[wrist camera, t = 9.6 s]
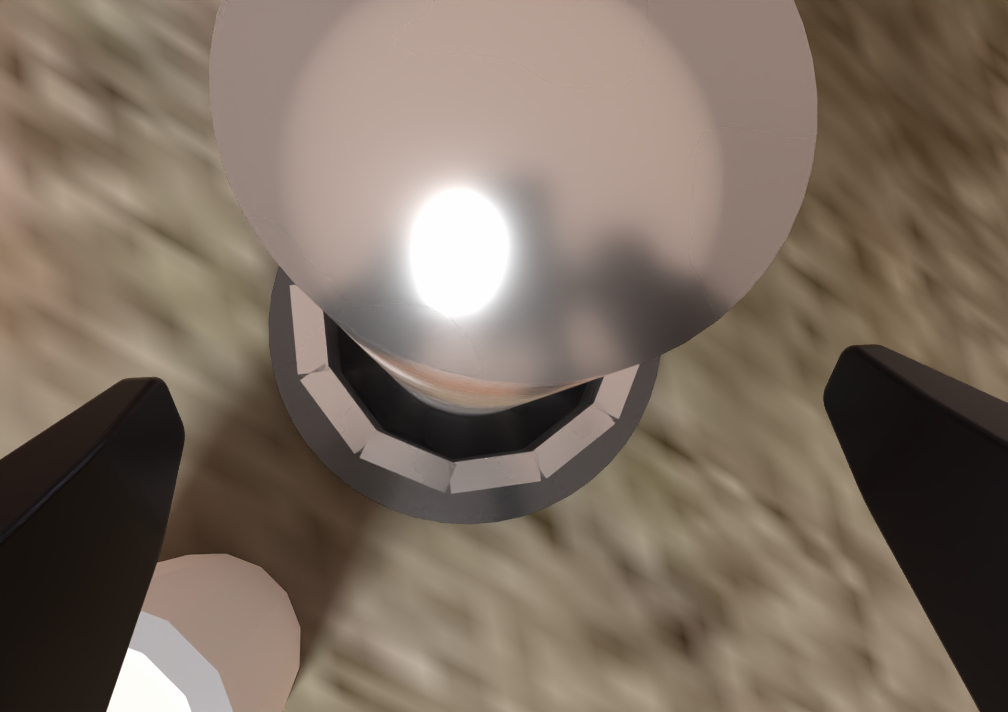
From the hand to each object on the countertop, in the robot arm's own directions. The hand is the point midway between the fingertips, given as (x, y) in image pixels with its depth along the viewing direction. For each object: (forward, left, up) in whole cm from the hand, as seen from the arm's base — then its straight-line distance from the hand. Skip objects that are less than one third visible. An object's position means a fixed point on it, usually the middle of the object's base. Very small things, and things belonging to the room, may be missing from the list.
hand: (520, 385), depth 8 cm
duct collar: (+2, -1, -11) cm, 11 cm away
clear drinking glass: (+2, -1, -10) cm, 11 cm away
